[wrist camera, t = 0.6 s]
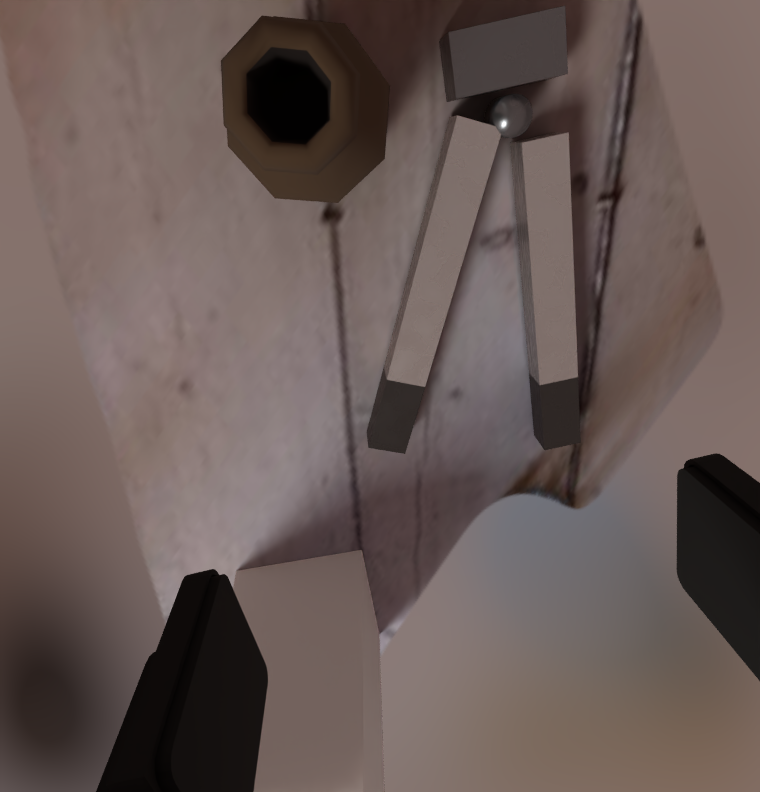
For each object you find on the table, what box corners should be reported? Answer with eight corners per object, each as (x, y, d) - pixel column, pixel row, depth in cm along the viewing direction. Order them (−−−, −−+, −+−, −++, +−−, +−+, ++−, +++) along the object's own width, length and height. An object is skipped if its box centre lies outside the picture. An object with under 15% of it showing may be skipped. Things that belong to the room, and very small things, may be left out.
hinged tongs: (439, 41, 33) (448, 32, 30) (546, 16, 33) (565, 5, 30) (490, 442, 46) (499, 461, 43) (567, 426, 46) (581, 443, 43)
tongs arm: (458, 82, 34) (467, 78, 32) (524, 102, 35) (538, 99, 32) (366, 432, 44) (368, 447, 42) (419, 441, 45) (423, 456, 43)
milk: (265, 653, 55) (215, 1029, 32) (236, 570, 50) (151, 945, 27) (379, 634, 55) (412, 994, 32) (361, 549, 50) (386, 904, 27)
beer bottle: (353, 34, 33) (391, -172, 11) (391, 165, 36) (477, 202, 14) (235, 79, 33) (53, -36, 12) (283, 204, 37) (212, 295, 15)
